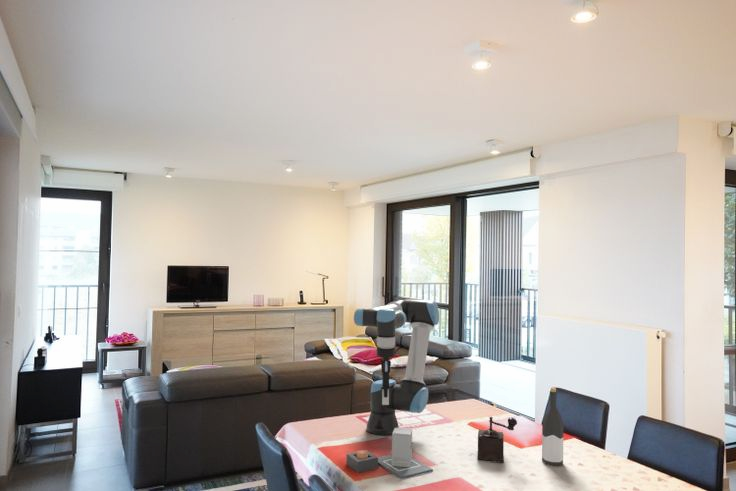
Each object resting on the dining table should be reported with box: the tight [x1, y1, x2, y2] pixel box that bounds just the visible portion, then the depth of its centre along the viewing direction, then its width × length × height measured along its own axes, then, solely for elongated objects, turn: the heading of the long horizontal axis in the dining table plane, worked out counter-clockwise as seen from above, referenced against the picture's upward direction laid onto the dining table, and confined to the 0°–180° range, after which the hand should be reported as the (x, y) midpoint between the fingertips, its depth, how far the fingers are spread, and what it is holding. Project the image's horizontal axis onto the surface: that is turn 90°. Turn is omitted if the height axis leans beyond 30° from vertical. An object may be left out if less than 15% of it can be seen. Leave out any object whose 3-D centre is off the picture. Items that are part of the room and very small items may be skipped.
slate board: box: [377, 453, 434, 480], centre depth 203 cm, size 20×15×1 cm
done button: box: [356, 449, 368, 459], centre depth 201 cm, size 4×4×4 cm
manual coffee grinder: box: [476, 416, 518, 463], centre depth 213 cm, size 16×11×18 cm
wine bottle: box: [541, 386, 564, 467], centre depth 210 cm, size 8×8×30 cm
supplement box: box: [391, 427, 413, 467], centre depth 203 cm, size 7×7×13 cm
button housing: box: [345, 449, 379, 473], centre depth 201 cm, size 9×9×4 cm
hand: (385, 404), depth 212 cm, fingers closed
